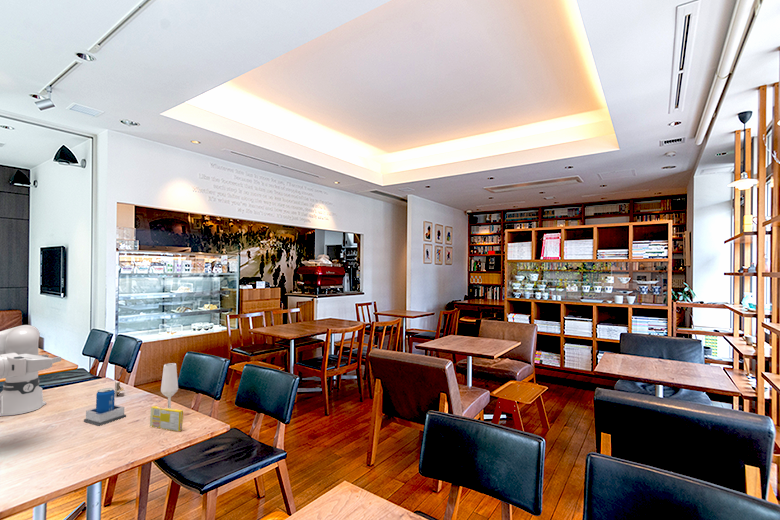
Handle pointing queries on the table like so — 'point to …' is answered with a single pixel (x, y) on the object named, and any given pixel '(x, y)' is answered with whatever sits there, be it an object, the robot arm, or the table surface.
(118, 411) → the can holder
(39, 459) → the table surface
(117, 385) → the architectural model
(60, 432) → the table surface
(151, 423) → the candy box
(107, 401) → the beverage can
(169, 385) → the champagne flute
